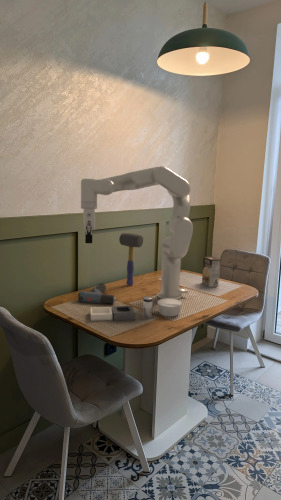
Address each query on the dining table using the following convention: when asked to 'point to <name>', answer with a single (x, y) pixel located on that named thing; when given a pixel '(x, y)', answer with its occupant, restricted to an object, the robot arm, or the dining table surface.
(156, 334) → the dining table surface
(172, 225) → the robot arm
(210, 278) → the coffee box
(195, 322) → the dining table surface
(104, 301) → the power drill
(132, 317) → the block
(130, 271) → the rubber mallet
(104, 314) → the tray
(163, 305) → the ramekin
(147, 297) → the shiny metal canister
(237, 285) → the dining table surface
